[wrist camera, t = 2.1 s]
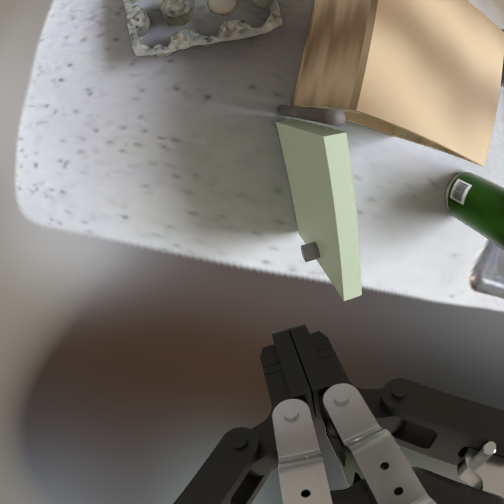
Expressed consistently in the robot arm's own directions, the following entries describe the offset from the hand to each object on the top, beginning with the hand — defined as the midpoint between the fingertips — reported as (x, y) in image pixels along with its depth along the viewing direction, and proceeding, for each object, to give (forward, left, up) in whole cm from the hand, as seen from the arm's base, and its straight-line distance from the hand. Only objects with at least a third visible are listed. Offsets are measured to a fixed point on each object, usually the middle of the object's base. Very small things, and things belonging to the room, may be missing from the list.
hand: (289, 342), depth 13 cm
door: (-4, +3, -14) cm, 15 cm away
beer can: (-7, +23, -15) cm, 28 cm away
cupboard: (-15, +7, -15) cm, 22 cm away
